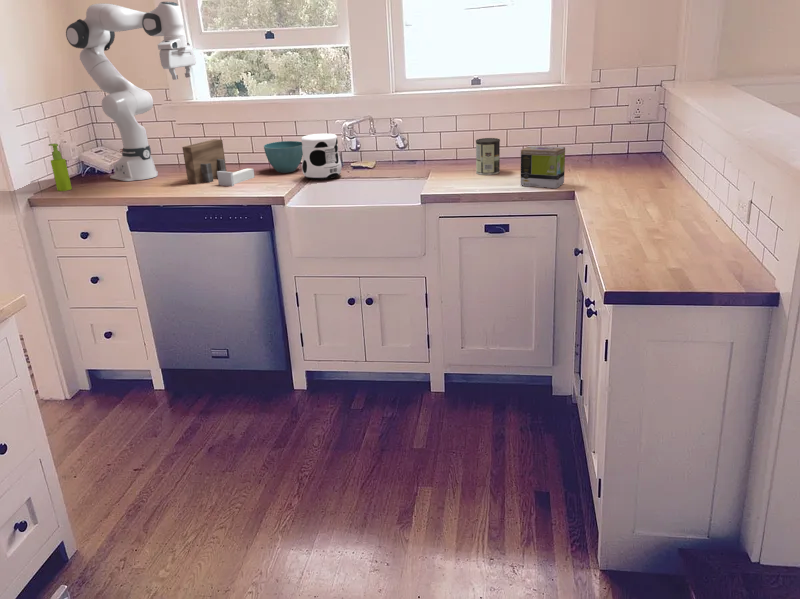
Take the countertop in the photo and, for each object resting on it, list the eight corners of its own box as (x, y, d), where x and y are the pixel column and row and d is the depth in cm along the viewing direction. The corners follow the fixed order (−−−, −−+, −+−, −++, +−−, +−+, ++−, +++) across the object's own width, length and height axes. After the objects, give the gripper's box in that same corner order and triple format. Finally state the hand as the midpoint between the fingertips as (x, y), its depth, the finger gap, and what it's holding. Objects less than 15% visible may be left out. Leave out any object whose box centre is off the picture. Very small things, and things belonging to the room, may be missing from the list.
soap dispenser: (66, 187, 314) (56, 142, 307) (74, 188, 310) (64, 143, 302) (53, 189, 310) (43, 144, 302) (61, 191, 306) (50, 145, 298)
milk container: (309, 173, 318) (305, 133, 311) (346, 173, 315) (343, 132, 308) (298, 182, 303) (293, 140, 296) (336, 182, 299) (333, 139, 293)
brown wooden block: (188, 183, 310) (182, 147, 304) (218, 173, 326) (213, 139, 320) (202, 184, 306) (196, 147, 300) (232, 175, 322) (227, 139, 316)
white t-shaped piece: (232, 186, 301) (230, 172, 299) (218, 185, 304) (216, 171, 302) (257, 177, 315) (256, 164, 313) (244, 176, 318) (242, 163, 316)
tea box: (564, 183, 278) (566, 146, 273) (556, 189, 271) (557, 151, 265) (528, 180, 286) (529, 144, 280) (519, 186, 278) (520, 148, 272)
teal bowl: (314, 168, 327) (311, 142, 323) (286, 176, 314) (283, 149, 309) (286, 165, 338) (284, 139, 333) (258, 173, 324) (255, 146, 320)
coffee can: (492, 169, 309) (492, 136, 304) (504, 173, 301) (504, 140, 295) (471, 171, 306) (471, 139, 301) (482, 176, 297) (482, 142, 292)
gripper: (183, 42, 301) (189, 76, 306) (154, 45, 283) (161, 81, 288) (196, 42, 299) (201, 75, 304) (168, 44, 281) (174, 80, 286)
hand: (181, 78), depth 296 cm, fingers open, 8 cm apart
